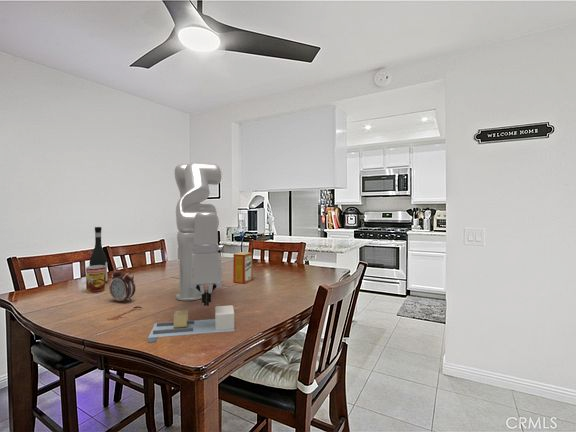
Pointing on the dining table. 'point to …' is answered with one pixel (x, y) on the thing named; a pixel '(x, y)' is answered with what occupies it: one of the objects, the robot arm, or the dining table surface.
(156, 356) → the dining table surface
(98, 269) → the canned food
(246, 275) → the baking soda box
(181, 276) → the robot arm
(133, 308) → the key
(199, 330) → the plate
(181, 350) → the dining table surface
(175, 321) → the block
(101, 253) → the wine bottle
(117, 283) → the alarm clock
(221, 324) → the white rectangular block
